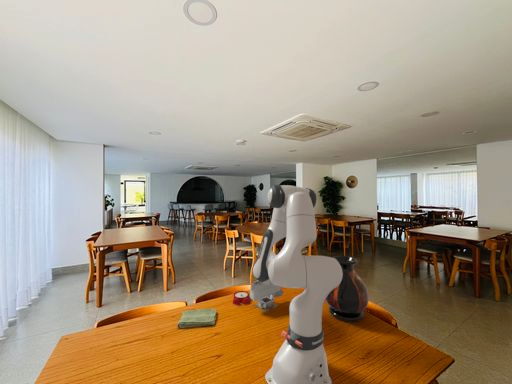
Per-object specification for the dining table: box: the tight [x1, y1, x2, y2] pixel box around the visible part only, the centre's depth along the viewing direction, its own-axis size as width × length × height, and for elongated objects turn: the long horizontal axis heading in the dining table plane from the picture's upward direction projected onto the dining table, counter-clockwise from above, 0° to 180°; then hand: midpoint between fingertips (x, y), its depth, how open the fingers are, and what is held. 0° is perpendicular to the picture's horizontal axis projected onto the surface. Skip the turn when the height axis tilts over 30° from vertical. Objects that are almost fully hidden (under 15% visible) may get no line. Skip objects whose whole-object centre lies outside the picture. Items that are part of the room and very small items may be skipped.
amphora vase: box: [324, 255, 370, 323], centre depth 109 cm, size 22×22×28 cm
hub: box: [267, 288, 284, 299], centre depth 133 cm, size 15×15×4 cm
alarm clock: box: [232, 290, 251, 306], centre depth 123 cm, size 10×6×15 cm
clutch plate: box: [257, 296, 275, 310], centre depth 117 cm, size 6×8×3 cm
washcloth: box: [177, 308, 218, 329], centre depth 105 cm, size 13×18×3 cm
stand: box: [253, 302, 279, 313], centre depth 116 cm, size 10×10×2 cm
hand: (265, 303), depth 116 cm, fingers closed on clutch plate, 6 cm apart
